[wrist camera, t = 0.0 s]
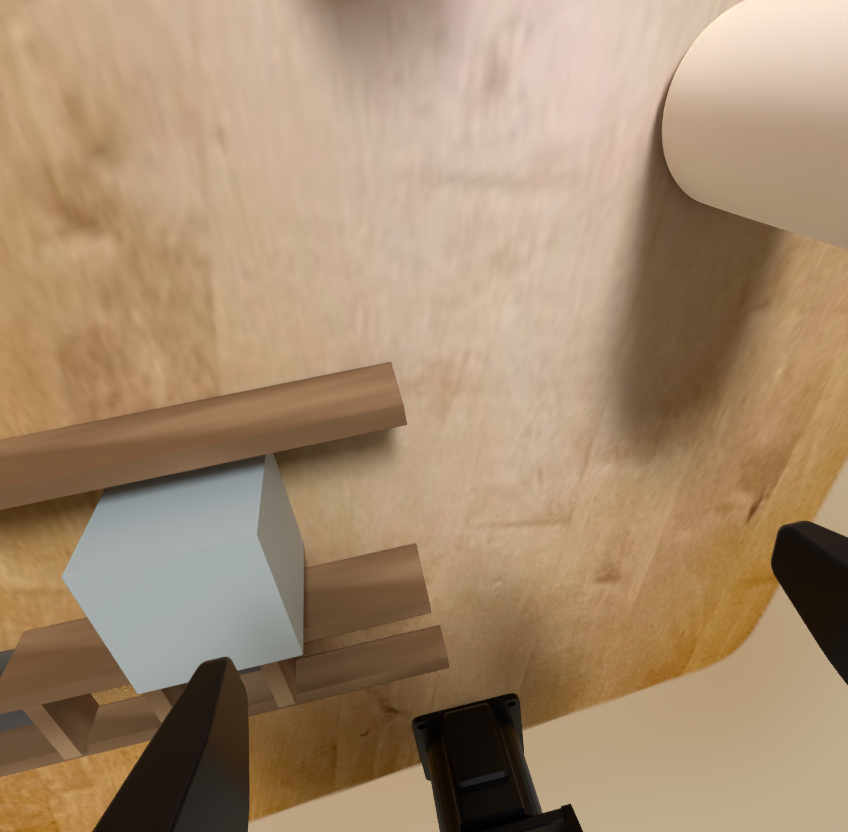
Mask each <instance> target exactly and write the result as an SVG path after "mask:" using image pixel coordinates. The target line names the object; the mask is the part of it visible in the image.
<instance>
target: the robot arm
mask: <svg viewBox="0 0 848 832" xmlns="http://www.w3.org/2000/svg"><path fill="white" fill-rule="evenodd" d="M771 567H772V570H773V573H774V575H775V577H776V579H777V580H778V582H779V583H780V585H781V586H782V588H783V590H784V591H785V593H786V594H787V595H788V597H789V599H790V601H791V602H792V604H793V605H794V607H795V608H796V610H797V612H798V613H799V615H800V616H801V618H802V619H803V621H804V623H805V624H806V626H807V628H808V629H809V631H810V632H811V634H812V635H813V637H814V638H815V640H816V642H817V643H818V645H819V646H820V648H821V649H822V651H823V652H824V654H825V655H826V657H827V658H828V660H829V661H830V662H831V664H832V665H833V666H834V668H835V669H836V670H837V672H838V673H839V675H840V676H841V677H842V678H843V680H844V681H845V682H846V683H847V685H848V537H845V536H843V535H841V534H838V533H836V532H834V531H831V530H829V529H826V528H824V527H822V526H819V525H817V524H815V523H812V522H809V521H799V522H795V523H790V524H786V525H783V526H781V527H780V528H779V530H778V532H777V537H776V541H775V545H774V549H773V553H772V558H771ZM412 725H413V730H414V734H415V738H416V742H417V746H418V750H419V753H420V757H421V761H422V765H423V769H424V773H425V777H426V779H427V780H430V781H431V784H432V789H433V795H434V800H435V806H436V812H437V818H438V823H439V829H440V832H583V831H582V828H581V826H580V824H579V821H578V819H577V817H576V815H575V812H574V810H573V808H572V806H571V804H568V805H564V806H561V808H560V809H557V810H553V811H549V812H546V813H542V810H541V806H540V804H539V800H538V797H537V794H536V791H535V788H534V785H533V781H532V778H531V775H530V772H529V769H528V766H527V763H526V760H525V757H524V746H523V734H522V723H521V711H520V702H519V699H518V696H517V695H516V694H514V693H511V694H506V695H502V696H498V697H494V698H490V699H486V700H482V701H478V702H474V703H470V704H466V705H462V706H458V707H454V708H450V709H446V710H442V711H438V712H434V713H430V714H426V715H422V716H418V717H416V718H415V719H413V721H412ZM248 819H249V728H248V696H247V691H246V688H245V686H244V684H243V682H242V680H241V677H240V675H239V673H238V671H237V669H236V667H235V665H234V663H233V661H232V660H231V659H230V658H229V657H227V656H226V657H225V656H224V657H220V658H216V659H211V660H207V661H204V662H203V663H201V664H200V665H199V666H198V668H197V669H196V671H195V672H194V674H193V675H192V677H191V678H190V680H189V682H188V683H187V685H186V686H185V688H184V689H183V691H182V692H181V694H180V696H179V697H178V699H177V700H176V702H175V703H174V705H173V707H172V708H171V710H170V711H169V713H168V714H167V716H166V717H165V719H164V721H163V722H162V724H161V725H160V727H159V728H158V730H157V732H156V733H155V735H154V736H153V738H152V739H151V741H150V742H149V744H148V746H147V747H146V749H145V750H144V752H143V753H142V755H141V756H140V758H139V760H138V761H137V763H136V764H135V766H134V767H133V769H132V771H131V772H130V774H129V775H128V777H127V778H126V780H125V781H124V783H123V785H122V786H121V788H120V789H119V791H118V792H117V794H116V796H115V797H114V799H113V800H112V802H111V803H110V805H109V806H108V808H107V810H106V811H105V813H104V814H103V816H102V817H101V819H100V820H99V822H98V824H97V825H96V827H95V828H94V830H93V831H92V832H248Z"/></svg>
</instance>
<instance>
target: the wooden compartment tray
mask: <svg viewBox="0 0 848 832" xmlns="http://www.w3.org/2000/svg"><path fill="white" fill-rule="evenodd" d="M404 425H407V422H406V416H405V411H404V405H403V402H402V398H401V395H400V391H399V388H398V385H397V381H396V378H395V374H394V371H393V368H392V364H391V362H389V363H384V364H379V365H374V366H369V367H364V368H359V369H354V370H349V371H344V372H339V373H334V374H329V375H324V376H319V377H314V378H309V379H304V380H299V381H294V382H289V383H284V384H279V385H274V386H269V387H264V388H259V389H254V390H249V391H244V392H239V393H234V394H229V395H224V396H219V397H214V398H209V399H204V400H199V401H194V402H189V403H184V404H179V405H174V406H169V407H164V408H159V409H154V410H149V411H144V412H139V413H134V414H129V415H124V416H119V417H114V418H109V419H104V420H99V421H94V422H89V423H84V424H79V425H74V426H69V427H65V428H60V429H55V430H50V431H45V432H40V433H35V434H30V435H25V436H20V437H15V438H10V439H5V440H0V510H2V509H7V508H12V507H17V506H22V505H26V504H31V503H36V502H41V501H45V500H50V499H55V498H60V497H65V496H69V495H74V494H79V493H84V492H88V491H93V490H98V489H103V488H108V487H112V486H117V485H122V484H127V483H131V482H136V481H141V480H146V479H151V478H155V477H160V476H165V475H170V474H174V473H179V472H184V471H189V470H193V469H198V468H203V467H208V466H213V465H217V464H222V463H227V462H232V461H236V460H241V459H246V458H251V457H256V456H260V455H265V454H270V453H275V452H279V451H284V450H289V449H294V448H299V447H303V446H308V445H313V444H318V443H322V442H327V441H332V440H337V439H342V438H346V437H351V436H356V435H361V434H365V433H370V432H375V431H380V430H385V429H389V428H394V427H399V426H404ZM428 613H431V608H430V603H429V598H428V594H427V589H426V585H425V581H424V576H423V572H422V568H421V563H420V559H419V555H418V551H417V546H416V544H411V545H407V546H403V547H398V548H394V549H389V550H385V551H380V552H376V553H372V554H367V555H363V556H358V557H354V558H349V559H345V560H341V561H336V562H332V563H327V564H323V565H318V566H314V567H309V568H305V569H304V605H303V643H305V642H309V641H314V640H318V639H322V638H326V637H331V636H335V635H339V634H343V633H348V632H352V631H356V630H360V629H365V628H369V627H373V626H377V625H382V624H386V623H390V622H394V621H399V620H403V619H407V618H411V617H415V616H420V615H424V614H428ZM446 668H449V664H448V658H447V654H446V650H445V646H444V641H443V637H442V633H441V629H440V625H439V626H435V627H431V628H427V629H423V630H418V631H414V632H410V633H406V634H401V635H397V636H393V637H389V638H385V639H380V640H376V641H372V642H368V643H364V644H359V645H355V646H351V647H347V648H343V649H338V650H334V651H330V652H326V653H321V654H317V655H313V656H309V657H305V658H300V659H296V658H295V657H293V658H289V659H285V660H280V661H276V662H272V663H268V664H263V665H259V666H255V667H251V668H247V669H242V670H238V673H239V675H240V677H241V680H242V682H243V684H244V686H245V688H246V691H247V696H248V717H249V716H253V715H257V714H261V713H265V712H269V711H273V710H277V709H282V708H286V707H290V706H294V705H298V704H302V703H306V702H310V701H314V700H319V699H323V698H327V697H331V696H335V695H339V694H343V693H347V692H351V691H356V690H360V689H364V688H368V687H372V686H376V685H380V684H384V683H388V682H392V681H397V680H401V679H405V678H409V677H413V676H417V675H421V674H425V673H429V672H434V671H438V670H442V669H446ZM127 684H131V683H130V682H129V680H128V679H127V677H126V676H125V674H124V673H123V671H122V670H121V668H120V666H119V665H118V663H117V662H116V660H115V659H114V657H113V656H112V654H111V653H110V651H109V650H108V648H107V647H106V645H105V643H104V642H103V640H102V639H101V637H100V636H99V634H98V633H97V631H96V630H95V628H94V627H93V625H92V624H91V622H90V620H89V619H88V618H83V619H79V620H75V621H70V622H66V623H61V624H57V625H52V626H48V627H44V628H39V629H35V630H30V631H26V632H24V633H23V635H22V637H21V639H20V641H19V642H18V644H17V646H16V648H15V649H13V650H9V651H4V652H0V777H2V776H6V775H11V774H15V773H19V772H23V771H27V770H31V769H35V768H39V767H43V766H48V765H52V764H56V763H60V762H64V761H68V760H72V759H76V758H80V757H84V756H89V755H93V754H97V753H101V752H105V751H109V750H113V749H117V748H121V747H126V746H130V745H134V744H138V743H142V742H146V741H150V740H151V739H152V738H153V736H154V735H155V733H156V732H157V730H158V728H159V727H160V725H161V724H162V722H163V721H164V719H165V717H166V716H167V714H168V713H169V711H170V710H171V708H172V707H173V705H174V703H175V702H176V700H177V699H178V697H179V696H180V694H181V692H182V691H183V689H184V688H185V686H186V685H187V683H184V684H179V685H175V686H171V687H167V688H163V689H158V690H154V691H150V692H146V693H143V695H144V696H140V697H136V698H132V699H128V700H124V701H119V702H115V703H111V704H107V705H103V706H98V705H97V703H96V702H95V700H94V699H93V698H92V696H91V695H90V693H93V692H97V691H101V690H106V689H110V688H114V687H118V686H122V685H127Z"/></svg>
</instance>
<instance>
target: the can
mask: <svg viewBox="0 0 848 832" xmlns="http://www.w3.org/2000/svg"><path fill="white" fill-rule="evenodd" d="M662 144H663V151H664V156H665V159H666V163H667V166H668V168H669V170H670V173H671V175H672V176H673V178H674V180H675V181H676V183H677V184H678V185H679V187H680V188H681V189H682V190H683V191H684V192H685V193H686V194H687V195H688V196H689V197H691V198H692V199H694V200H696V201H698V202H701V203H703V204H706V205H709V206H712V207H715V208H718V209H721V210H724V211H727V212H730V213H733V214H736V215H739V216H742V217H745V218H748V219H752V220H755V221H758V222H761V223H764V224H767V225H770V226H774V227H777V228H780V229H783V230H786V231H789V232H793V233H796V234H799V235H802V236H805V237H809V238H812V239H815V240H818V241H821V242H825V243H828V244H831V245H834V246H837V247H841V248H844V249H847V250H848V0H744V1H742V2H740V3H738V4H736V5H735V6H733V7H731V8H730V9H728V10H727V11H725V12H724V13H722V14H721V15H720V16H719V17H717V18H716V19H715V20H714V21H713V22H712V23H711V24H710V25H709V26H708V27H707V28H706V29H705V30H704V31H703V32H702V33H701V34H700V35H699V36H698V38H697V39H696V40H695V41H694V43H693V44H692V45H691V47H690V48H689V50H688V51H687V53H686V54H685V56H684V58H683V59H682V61H681V63H680V65H679V67H678V69H677V71H676V73H675V75H674V77H673V80H672V82H671V85H670V88H669V91H668V94H667V98H666V102H665V106H664V112H663V120H662Z"/></svg>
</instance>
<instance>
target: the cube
mask: <svg viewBox="0 0 848 832" xmlns="http://www.w3.org/2000/svg"><path fill="white" fill-rule="evenodd" d="M61 578H62V579H63V581H64V582H65V584H66V585H67V587H68V588H69V590H70V591H71V593H72V594H73V596H74V597H75V599H76V601H77V602H78V604H79V605H80V607H81V608H82V610H83V611H84V613H85V614H86V616H87V617H88V619H89V620H90V622H91V624H92V625H93V627H94V628H95V630H96V631H97V633H98V634H99V636H100V637H101V639H102V640H103V642H104V643H105V645H106V647H107V648H108V650H109V651H110V653H111V654H112V656H113V657H114V659H115V660H116V662H117V663H118V665H119V666H120V668H121V670H122V671H123V673H124V674H125V676H126V677H127V679H128V680H129V682H130V683H131V685H132V686H133V688H134V689H135V691H136V693H137V694H141V693H146V692H150V691H154V690H158V689H163V688H167V687H171V686H175V685H179V684H184V683H188V682H189V680H190V678H191V677H192V675H193V674H194V672H195V671H196V669H197V668H198V666H199V665H200V664H201V663H203V662H204V661H207V660H211V659H216V658H220V657H224V656H225V657H226V656H227V657H229V658H230V659H231V660H232V661H233V663H234V665H235V667H236V669H237V671H238V670H242V669H247V668H251V667H255V666H259V665H263V664H268V663H272V662H276V661H280V660H285V659H289V658H293V657H297V656H301V655H303V605H304V544H303V541H302V538H301V535H300V532H299V529H298V526H297V523H296V520H295V517H294V514H293V511H292V508H291V505H290V502H289V499H288V496H287V492H286V489H285V486H284V483H283V480H282V477H281V474H280V471H279V468H278V465H277V462H276V459H275V456H274V453H270V454H265V455H260V456H256V457H251V458H246V459H241V460H236V461H232V462H227V463H222V464H217V465H213V466H208V467H203V468H198V469H193V470H189V471H184V472H179V473H174V474H170V475H165V476H160V477H155V478H151V479H146V480H141V481H136V482H131V483H127V484H122V485H117V486H112V487H108V488H105V490H104V492H103V494H102V496H101V498H100V500H99V502H98V504H97V506H96V508H95V510H94V512H93V514H92V516H91V518H90V520H89V522H88V524H87V527H86V529H85V531H84V533H83V535H82V537H81V539H80V541H79V543H78V545H77V547H76V549H75V551H74V553H73V555H72V557H71V559H70V561H69V563H68V565H67V567H66V569H65V571H64V573H63V575H62V577H61Z"/></svg>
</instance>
